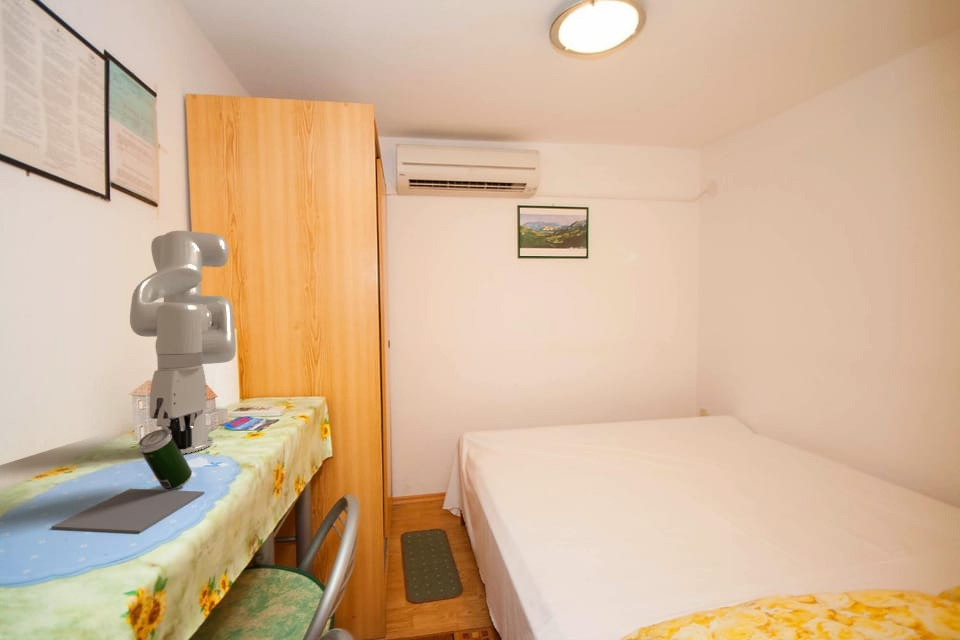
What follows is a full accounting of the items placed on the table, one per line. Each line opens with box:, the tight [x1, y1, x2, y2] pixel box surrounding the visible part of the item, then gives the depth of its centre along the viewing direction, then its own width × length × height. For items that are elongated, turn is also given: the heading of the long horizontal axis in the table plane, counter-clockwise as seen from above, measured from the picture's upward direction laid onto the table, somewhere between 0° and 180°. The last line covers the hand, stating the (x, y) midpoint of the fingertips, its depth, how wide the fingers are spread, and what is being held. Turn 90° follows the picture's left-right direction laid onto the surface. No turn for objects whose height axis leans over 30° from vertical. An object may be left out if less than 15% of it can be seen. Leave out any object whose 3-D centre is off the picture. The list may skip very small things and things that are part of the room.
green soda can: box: [138, 428, 193, 490], centre depth 80 cm, size 5×5×12 cm
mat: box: [51, 488, 205, 534], centre depth 73 cm, size 14×16×1 cm
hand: (181, 447), depth 83 cm, fingers closed
